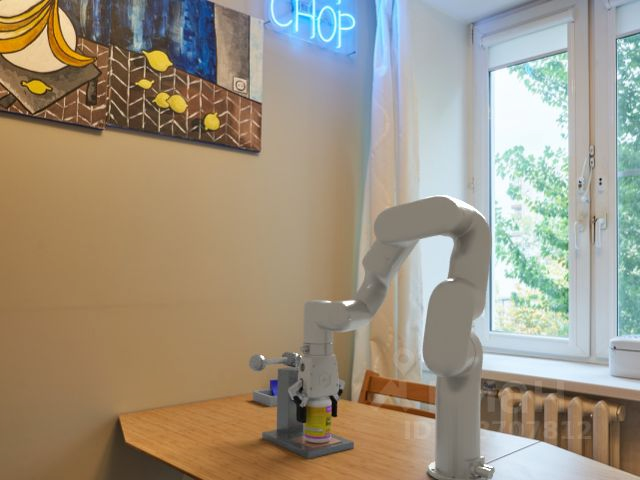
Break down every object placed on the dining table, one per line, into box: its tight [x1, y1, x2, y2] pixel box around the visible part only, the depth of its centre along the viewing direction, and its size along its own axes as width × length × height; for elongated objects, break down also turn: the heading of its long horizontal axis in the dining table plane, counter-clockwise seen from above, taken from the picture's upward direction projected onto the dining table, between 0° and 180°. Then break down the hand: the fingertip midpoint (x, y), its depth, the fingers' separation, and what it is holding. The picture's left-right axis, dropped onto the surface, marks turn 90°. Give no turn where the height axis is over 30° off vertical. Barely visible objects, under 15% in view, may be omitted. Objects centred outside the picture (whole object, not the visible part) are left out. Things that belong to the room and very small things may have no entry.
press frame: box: [261, 366, 355, 459], centre depth 144 cm, size 20×14×18 cm
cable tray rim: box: [252, 388, 277, 408], centre depth 191 cm, size 11×17×3 cm, turn 128°
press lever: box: [248, 351, 303, 373], centre depth 150 cm, size 4×24×4 cm, turn 128°
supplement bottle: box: [304, 396, 332, 443], centre depth 141 cm, size 7×7×13 cm
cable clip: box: [269, 378, 278, 396], centre depth 191 cm, size 12×4×6 cm, turn 25°
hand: (317, 419), depth 141 cm, fingers open, 9 cm apart
